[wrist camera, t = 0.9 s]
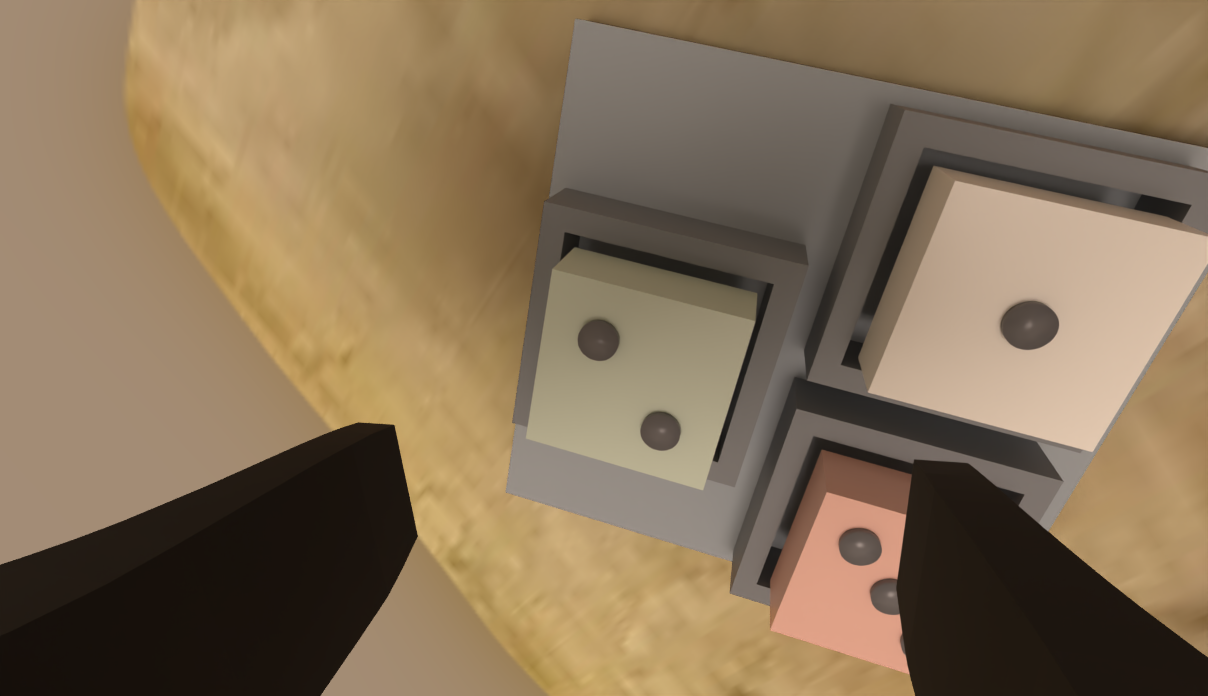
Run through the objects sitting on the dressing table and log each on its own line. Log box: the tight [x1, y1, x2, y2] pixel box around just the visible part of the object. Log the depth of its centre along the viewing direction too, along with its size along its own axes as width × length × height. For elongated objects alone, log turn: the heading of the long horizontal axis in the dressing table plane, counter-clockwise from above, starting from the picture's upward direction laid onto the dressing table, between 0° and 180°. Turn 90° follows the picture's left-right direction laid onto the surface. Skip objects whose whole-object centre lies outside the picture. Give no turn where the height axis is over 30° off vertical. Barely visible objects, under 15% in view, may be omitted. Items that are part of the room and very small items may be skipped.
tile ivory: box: [858, 166, 1208, 452], centre depth 13 cm, size 4×4×2 cm
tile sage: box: [526, 247, 757, 490], centre depth 16 cm, size 4×4×2 cm
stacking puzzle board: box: [506, 19, 1208, 606], centre depth 17 cm, size 15×14×3 cm
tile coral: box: [770, 450, 912, 674], centre depth 16 cm, size 4×4×2 cm
